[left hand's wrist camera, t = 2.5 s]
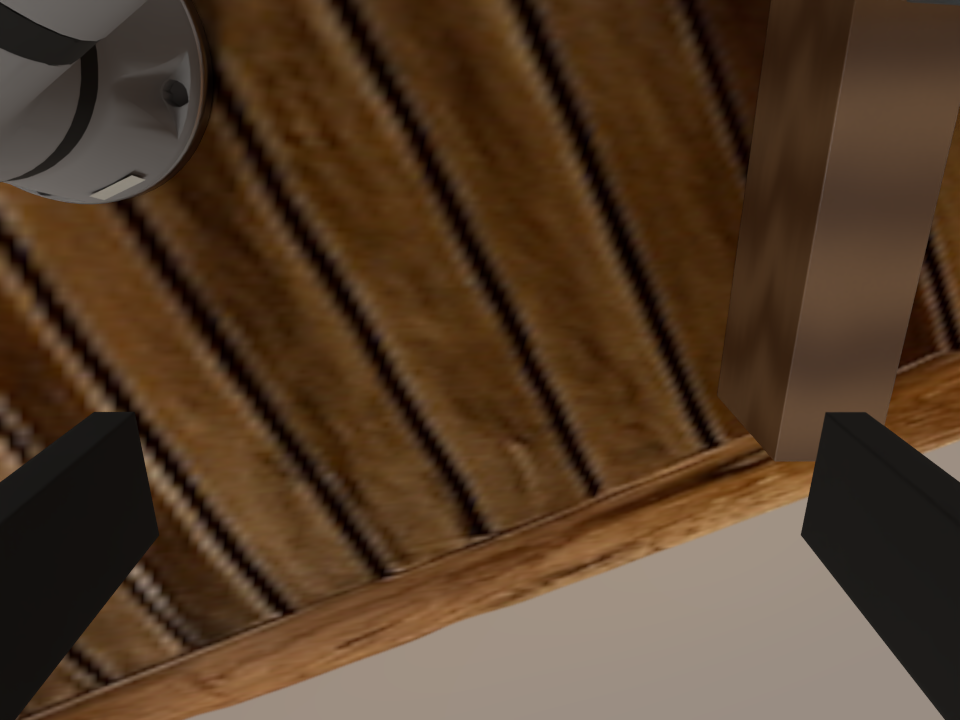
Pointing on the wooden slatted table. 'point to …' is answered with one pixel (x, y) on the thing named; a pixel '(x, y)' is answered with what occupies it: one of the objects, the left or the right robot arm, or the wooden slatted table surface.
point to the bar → (836, 211)
